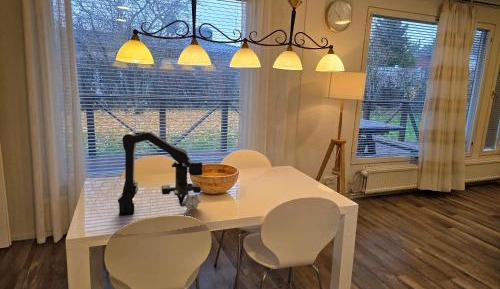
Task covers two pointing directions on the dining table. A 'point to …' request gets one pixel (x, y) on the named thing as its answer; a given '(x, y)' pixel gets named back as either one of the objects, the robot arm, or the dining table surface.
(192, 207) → the grey spiked polyhedron
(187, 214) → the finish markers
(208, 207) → the dining table surface
